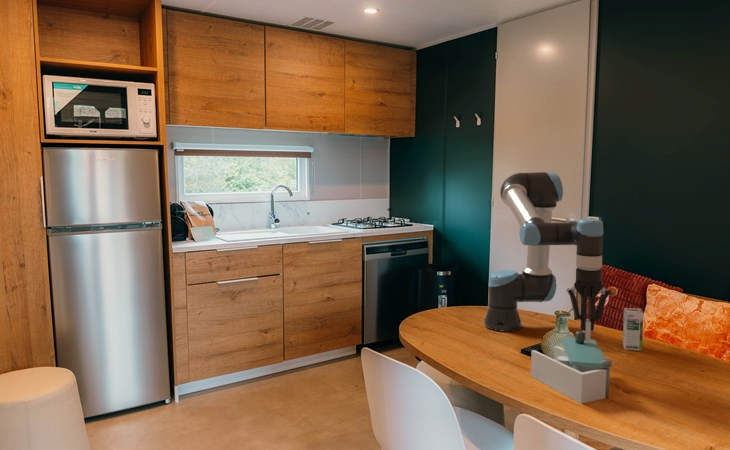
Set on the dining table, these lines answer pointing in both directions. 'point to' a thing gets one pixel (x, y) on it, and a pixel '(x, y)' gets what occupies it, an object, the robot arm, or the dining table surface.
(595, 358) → the lid
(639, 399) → the dining table surface
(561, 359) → the pill bottle
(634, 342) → the syrup box
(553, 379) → the grey planter box
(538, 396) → the dining table surface
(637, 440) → the dining table surface
